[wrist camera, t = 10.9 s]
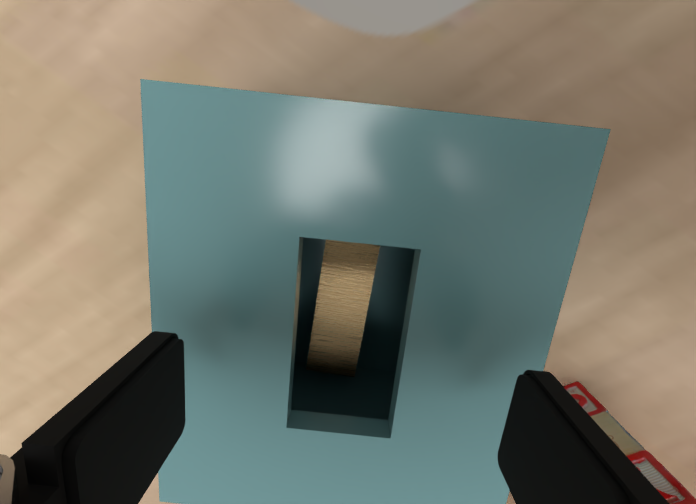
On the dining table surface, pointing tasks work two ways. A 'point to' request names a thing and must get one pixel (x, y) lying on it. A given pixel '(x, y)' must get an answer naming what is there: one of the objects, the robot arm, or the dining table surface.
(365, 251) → the tan flat block
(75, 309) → the dining table surface
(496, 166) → the coin box
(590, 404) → the stack of blocks
